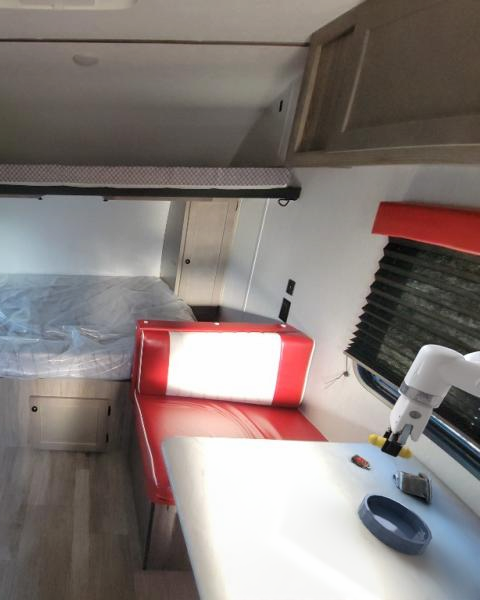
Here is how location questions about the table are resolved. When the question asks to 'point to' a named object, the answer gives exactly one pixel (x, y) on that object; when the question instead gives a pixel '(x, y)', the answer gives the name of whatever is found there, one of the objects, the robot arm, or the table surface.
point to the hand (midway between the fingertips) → (388, 449)
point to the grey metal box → (415, 484)
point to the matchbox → (360, 461)
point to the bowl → (394, 524)
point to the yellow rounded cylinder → (379, 442)
